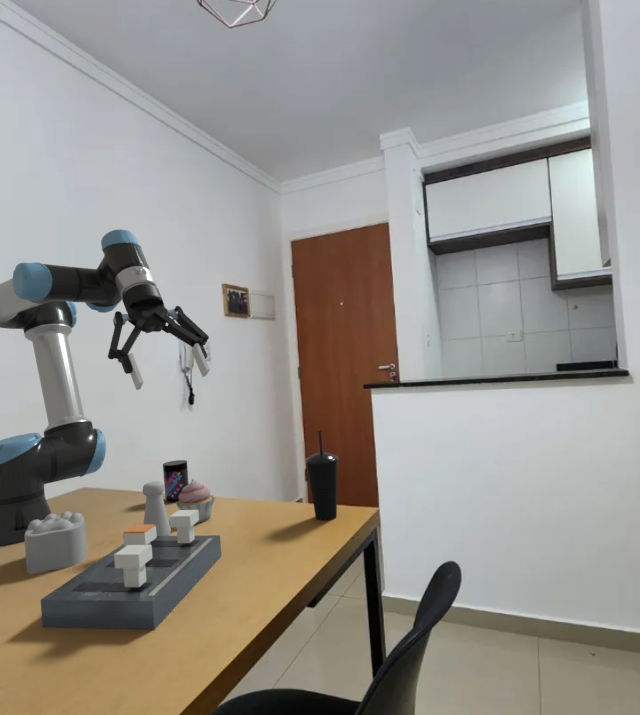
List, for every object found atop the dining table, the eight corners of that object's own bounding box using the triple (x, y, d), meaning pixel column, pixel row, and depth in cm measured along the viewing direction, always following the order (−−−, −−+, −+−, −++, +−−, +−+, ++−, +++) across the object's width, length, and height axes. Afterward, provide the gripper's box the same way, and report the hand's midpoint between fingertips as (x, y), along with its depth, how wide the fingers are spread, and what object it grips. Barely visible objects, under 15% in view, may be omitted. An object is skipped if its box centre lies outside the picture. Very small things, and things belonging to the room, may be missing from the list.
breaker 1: (116, 589, 71) (114, 554, 71) (130, 578, 74) (127, 545, 74) (141, 589, 70) (138, 554, 70) (154, 578, 74) (151, 544, 74)
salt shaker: (162, 549, 98) (157, 486, 98) (137, 549, 99) (132, 486, 99) (176, 538, 104) (172, 478, 104) (152, 538, 105) (148, 479, 105)
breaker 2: (171, 544, 88) (169, 516, 88) (180, 537, 91) (178, 510, 91) (192, 544, 87) (189, 516, 87) (200, 537, 90) (198, 509, 90)
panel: (42, 626, 71) (40, 599, 71) (136, 556, 95) (134, 536, 95) (154, 629, 67) (152, 600, 67) (221, 556, 92) (219, 535, 92)
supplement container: (161, 500, 136) (158, 463, 136) (183, 494, 141) (180, 459, 141) (171, 504, 131) (168, 466, 131) (194, 498, 136) (191, 461, 136)
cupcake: (192, 512, 122) (189, 473, 122) (223, 514, 118) (220, 474, 119) (168, 525, 113) (165, 483, 113) (201, 527, 110) (198, 484, 110)
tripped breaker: (125, 564, 80) (122, 532, 80) (136, 556, 83) (134, 524, 83) (147, 564, 79) (144, 531, 79) (158, 555, 83) (155, 524, 83)
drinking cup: (332, 524, 105) (325, 433, 105) (303, 520, 109) (296, 433, 109) (348, 513, 111) (342, 428, 112) (321, 510, 115) (314, 427, 116)
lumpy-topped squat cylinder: (22, 576, 90) (19, 530, 90) (36, 552, 102) (33, 512, 102) (83, 564, 93) (80, 520, 94) (89, 542, 106) (87, 503, 106)
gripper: (78, 285, 90) (111, 382, 83) (199, 278, 106) (236, 359, 99) (73, 309, 95) (104, 401, 88) (190, 299, 111) (224, 377, 104)
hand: (174, 379), depth 93 cm, fingers open, 13 cm apart
